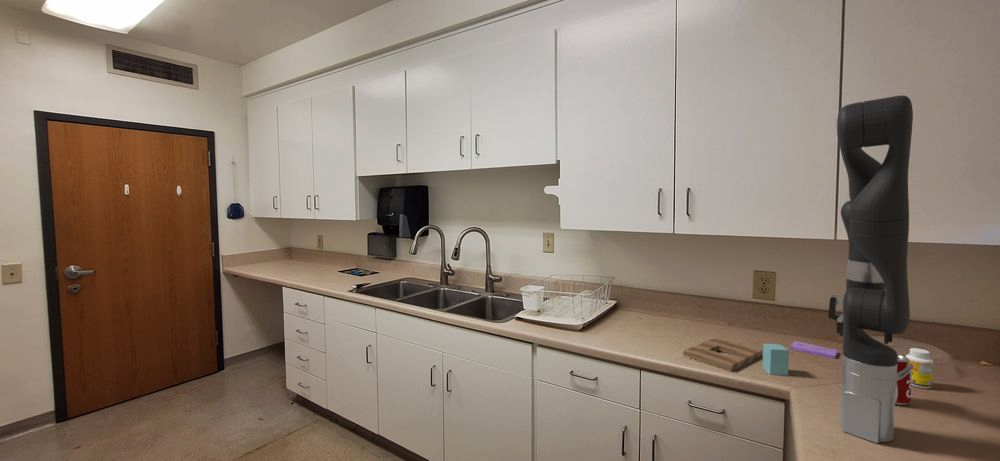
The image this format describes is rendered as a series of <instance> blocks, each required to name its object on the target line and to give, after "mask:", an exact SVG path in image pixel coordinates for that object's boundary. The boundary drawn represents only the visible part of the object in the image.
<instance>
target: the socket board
mask: <svg viewBox="0 0 1000 461" xmlns="http://www.w3.org/2000/svg"><path fill="white" fill-rule="evenodd" d="M717 350H718V351H717ZM715 351H717V352H715ZM719 351H722V352H719ZM723 352H725V353H723ZM726 353H728V354H726ZM682 354H683V355H685V356H688V357H690V358H693V359H696V360H699V361H702V362H704V363H703V364H705V363H707V364H706V365H709V364H710V365H709V366H712V365H714V366H713V367H715V366H717V367H716V368H718V367H719V369H721V368H722V370H724V371H728V372H731V373H732V372H734V371H736V370H738V369H740V368H741V367H743V366H746V365H747V364H749V363H751V362H753V361H755V360H757V359H759V358H761V357H763V349H761V348H760V349H759V348H756V347H753V346H749V345H745V344H741V343H737V342H733V341H729V340H726V339H723V338H722V339H721V338H718V337H714V338H711V339H709V340H707V341H704V342H702V343H699V344H697V345H694V346H692V347H688V348H686V349H684V350H683V351H682ZM683 355H682V356H683ZM760 356H761V357H760ZM758 357H759V358H758ZM690 358H689V359H690ZM756 358H757V359H756ZM693 359H692V360H693ZM754 359H755V360H754ZM696 360H695V361H696ZM752 360H753V361H752ZM699 361H698V362H699ZM750 361H751V362H750ZM702 362H701V363H702ZM748 362H749V363H748Z"/></svg>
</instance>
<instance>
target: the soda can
mask: <svg viewBox="0 0 1000 461" xmlns="http://www.w3.org/2000/svg"><path fill="white" fill-rule="evenodd" d="M897 355H898V360H897V377H896V395H895V406H905V405H909V404H911V401H912V400H911V396H912V386H911V382H912V365H911V364H910V363H909V359H908V358H907V357H906V356H903V355H901V354H897Z"/></svg>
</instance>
